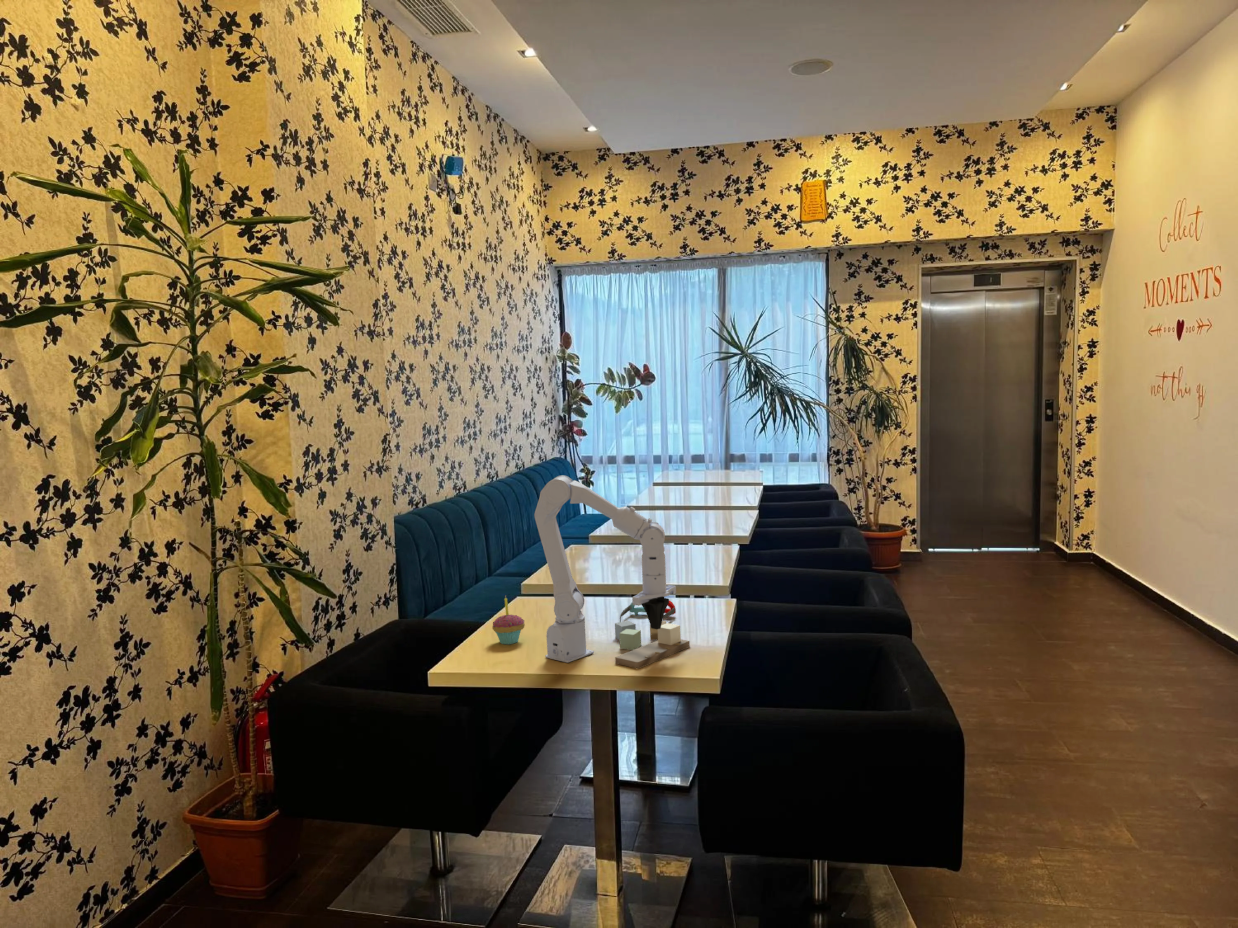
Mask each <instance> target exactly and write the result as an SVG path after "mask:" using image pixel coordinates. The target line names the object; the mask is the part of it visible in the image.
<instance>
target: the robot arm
mask: <svg viewBox="0 0 1238 928" xmlns="http://www.w3.org/2000/svg"><path fill="white" fill-rule="evenodd" d="M539 493H540V494H539V499H538V502H537V505H536V508H535V511H534V515H533V516H534V520H535V524H536V527H537V528H536V529H537V530H538V535H539V538H540V542H541V545H542V547H543V553H544V557H545V559H546V562H547V563H546V564H547V567H548V570H549V574H550V577H551V582H552V584H553V598H554V605H553V606H554V607H553V613H554V615H555V618H554V619H555V621H554V622H553V624H552V625H549V626H548V628H547V629H546V650H547V654H545V657H544V658H547V659H551V660H556V661H559V662H563V663H568V664H569V663H571V662H573V661H577V660H578V659H579V660H580V659H581V658H585V657H587V656H589V655H592V654H594V653H595V651H594V650H591V649H589V648H588V649H587V637H586V636H587V634H586V616H585V615H584V613H583V611H582V609H583V608H584V606H585V597H584V594H583V593H582V592H581V591H580V590H579V589H578V586H577V583H576V580H575V579H574V578H573V574H572V571H571V567H570V563H569V560H568V557H567V553H566V550H565V546H564V543H563V538H562V535H561V532H560V527H559V524H558V521H557V515H558V513H559V512H560V511H561V509H562V507H563V506H564V504H566V503H567V502H568V501H569V500H570V502H569V504H574V505H575V504H583V505H585V506H588V507H589V508H591V509H593V510H595V511H597V512H598V513H600V514H602V515H603V516H605V517H607V518H609V519H610V520H612V525H613V527H614V528H616V529H617V530H618V531H621V532H622V533H624V534H625V535H628V536H629V537H630V538H632V539H634V540H636V541H637V540H638V541H639V542H640V545H641V547H642V548H641V549H642V553H641V571H642V572H641V573H642V574H641V575H642V577H641V578H642V581H641V582H642V591H639V593H637V594H636V595H634V596H632V600H631V601H632V602H633V605H635V606H637V607H643V608H644V610H645V611H646V617H647V619H648V621H649V622H648V623H649V627H650V626H651V628H652V629H660V628H661V624H662V621H664V619H663V616H664V615H665V613H664V612H665V610H666V608H667V607H668V606H667V605H668V604H669V601H670V599H669V598H666V597H670V595H675V594H677V586H676V585H672V584H668V585H667V573H666V569H667V568H666V554H665V546H664V543H665V535H666V533H665V529H664V528H663V526H662V525H660V524H659V523H658V522H656V521H653V519H651V518H649V517H648V518H646V517H645V516H642V515H641V514H640V513H638V512H636V508H634V507H633V506H630V507H628V506H622V507H618V506H617V505H615V504H613V503H612V502H610V501H609V500H608V499H606V498H604V496H602V495H600V494H598V493H597V492H596V491H594V490H592V489H591V488H589V487H588V486H586V485H585V484H583V483H581V482H580V481H577V480H575V479H574V480H573V478H570V477H569V476H567V475H558V476H557V475H556V477H553V479H551V480H550V481H548V482H547V483H546V484H545V485H544V487H543V488H542V489H541V491H540V492H539ZM632 602H631V603H632Z"/></svg>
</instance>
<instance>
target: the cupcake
mask: <svg viewBox="0 0 1238 928" xmlns="http://www.w3.org/2000/svg"><path fill="white" fill-rule="evenodd" d="M504 608H505V614H504V615H501V616H498V617H497V618H496V619H494V621H493V622H492V628H491V629H492V630H493V631H494V632H495V634H496V637H498V638H497V639H498V640H499V644H502V645H513V644H517V643H518V642H519V638H520V636H521V631H522V630H523V629H524V628H525V626H526V625H525V620H524V619H523V618H522V617H521V616H519V615H517V614H510V613H509V605H508V598H507V595H505V596H504Z"/></svg>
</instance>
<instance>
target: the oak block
mask: <svg viewBox="0 0 1238 928" xmlns="http://www.w3.org/2000/svg"><path fill="white" fill-rule="evenodd" d="M666 623H667V620H662V624H661V625H664V624H666ZM649 634H650V635H649V636H650V637H649V638H650V641H657V640H658V629H652V628H651V626H650V625H649Z"/></svg>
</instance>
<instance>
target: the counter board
mask: <svg viewBox="0 0 1238 928" xmlns="http://www.w3.org/2000/svg"><path fill="white" fill-rule="evenodd" d="M690 647H691V645H690V640H688V639H687V640H686V639H682V638H681V641H680V642H678V643H675V644H673V645H667V644H662V643H658V640H654V641H653V642H649V643H648V644H645V645H643V646H642V645H641V646H640V647H638V648H637V649H635V650H631V651H630V650H629V651H627V652H624V653H623V654H620V655H617V656H615V657H614V658H615V660H614V662H615V664H617V665H621V666H625V667H628V668H629V667H630V668H633V669H641V668H643V667H645V666H648V665H650V664H653V663H655V662H657V661H660V660H662V659H665V658H667V657H669V656H671V655H674V654H677V653H679V652H680V651H683V650H686V649H688V648H690Z"/></svg>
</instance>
